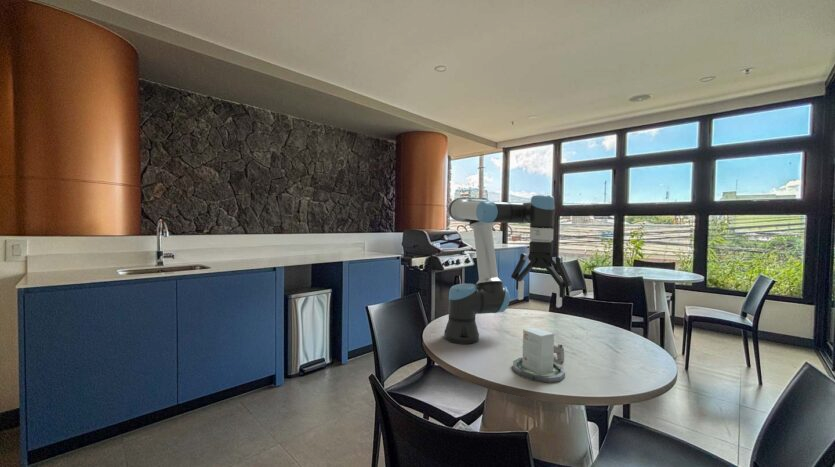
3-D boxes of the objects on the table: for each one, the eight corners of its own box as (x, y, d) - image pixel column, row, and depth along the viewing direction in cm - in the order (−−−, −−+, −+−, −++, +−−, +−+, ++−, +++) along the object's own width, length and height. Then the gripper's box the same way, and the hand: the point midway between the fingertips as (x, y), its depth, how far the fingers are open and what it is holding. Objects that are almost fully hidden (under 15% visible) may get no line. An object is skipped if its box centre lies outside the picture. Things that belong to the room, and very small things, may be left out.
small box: (553, 372, 112) (554, 333, 112) (540, 375, 109) (541, 336, 109) (534, 363, 119) (535, 326, 119) (521, 366, 116) (522, 329, 116)
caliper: (564, 362, 122) (564, 346, 122) (561, 363, 122) (561, 346, 121) (536, 343, 142) (536, 328, 142) (533, 343, 142) (534, 328, 142)
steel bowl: (504, 370, 114) (504, 366, 114) (526, 357, 125) (527, 353, 125) (551, 387, 102) (552, 382, 102) (572, 371, 114) (572, 367, 114)
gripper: (502, 239, 120) (501, 297, 120) (575, 243, 102) (572, 312, 103) (513, 238, 125) (511, 295, 126) (583, 242, 107) (581, 308, 108)
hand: (538, 302), depth 114 cm, fingers open, 13 cm apart
